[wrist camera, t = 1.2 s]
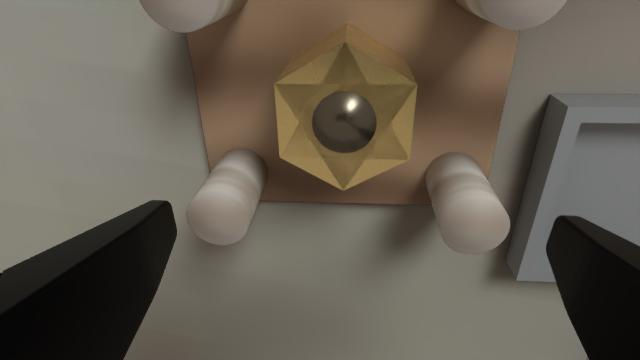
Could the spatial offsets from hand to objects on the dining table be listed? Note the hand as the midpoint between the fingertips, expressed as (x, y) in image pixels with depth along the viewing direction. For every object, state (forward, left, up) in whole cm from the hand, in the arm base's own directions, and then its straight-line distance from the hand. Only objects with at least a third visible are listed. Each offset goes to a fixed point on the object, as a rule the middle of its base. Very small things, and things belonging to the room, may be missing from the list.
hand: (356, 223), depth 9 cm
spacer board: (0, 0, -13) cm, 13 cm away
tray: (-6, -16, -13) cm, 21 cm away
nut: (0, 0, -12) cm, 12 cm away
